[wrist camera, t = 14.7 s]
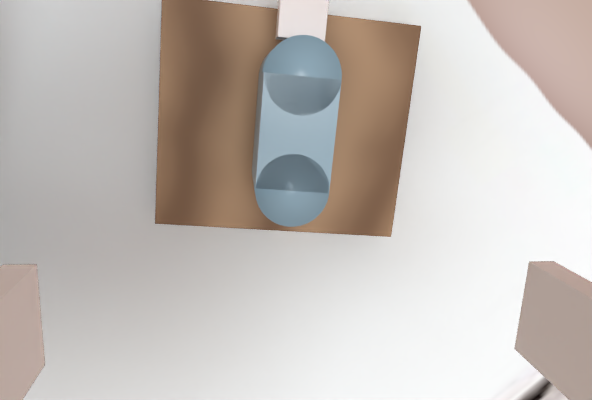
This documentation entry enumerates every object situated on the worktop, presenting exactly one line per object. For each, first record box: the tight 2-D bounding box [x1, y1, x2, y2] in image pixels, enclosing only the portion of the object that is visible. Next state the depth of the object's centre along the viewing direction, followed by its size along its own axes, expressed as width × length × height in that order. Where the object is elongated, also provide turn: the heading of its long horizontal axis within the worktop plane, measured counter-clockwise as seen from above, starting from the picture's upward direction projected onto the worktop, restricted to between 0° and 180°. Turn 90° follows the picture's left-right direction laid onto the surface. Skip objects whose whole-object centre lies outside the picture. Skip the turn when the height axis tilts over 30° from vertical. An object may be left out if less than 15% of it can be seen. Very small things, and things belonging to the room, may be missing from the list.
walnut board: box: [155, 0, 421, 237], centre depth 32 cm, size 16×14×2 cm
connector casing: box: [252, 0, 342, 227], centre depth 28 cm, size 4×12×6 cm, turn 175°
